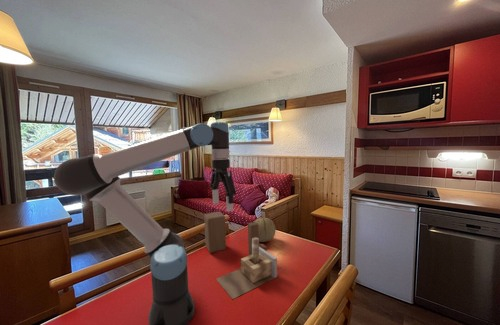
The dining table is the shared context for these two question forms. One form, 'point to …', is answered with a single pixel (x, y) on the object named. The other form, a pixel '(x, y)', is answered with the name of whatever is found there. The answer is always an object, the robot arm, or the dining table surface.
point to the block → (215, 231)
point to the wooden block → (253, 236)
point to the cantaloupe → (265, 229)
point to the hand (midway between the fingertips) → (222, 206)
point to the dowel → (255, 250)
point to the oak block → (256, 268)
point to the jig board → (239, 283)
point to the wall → (271, 258)
